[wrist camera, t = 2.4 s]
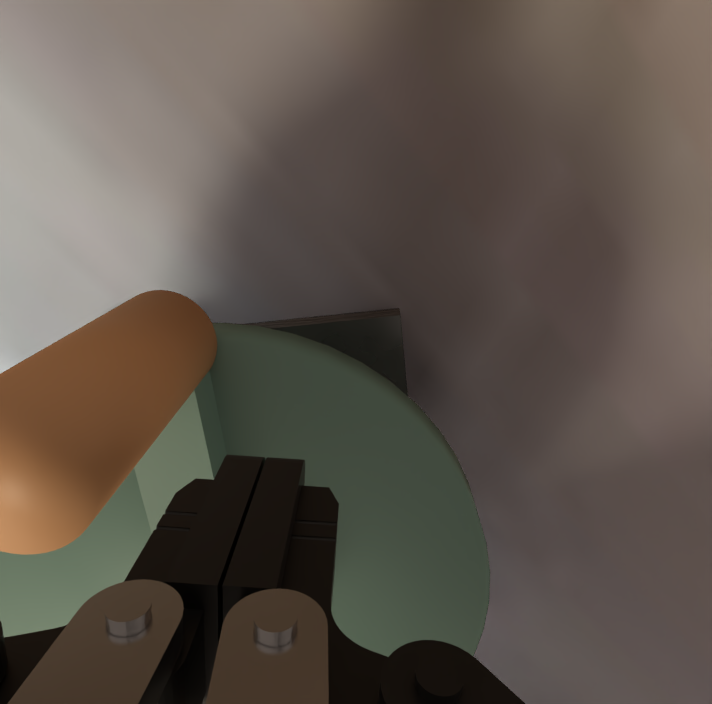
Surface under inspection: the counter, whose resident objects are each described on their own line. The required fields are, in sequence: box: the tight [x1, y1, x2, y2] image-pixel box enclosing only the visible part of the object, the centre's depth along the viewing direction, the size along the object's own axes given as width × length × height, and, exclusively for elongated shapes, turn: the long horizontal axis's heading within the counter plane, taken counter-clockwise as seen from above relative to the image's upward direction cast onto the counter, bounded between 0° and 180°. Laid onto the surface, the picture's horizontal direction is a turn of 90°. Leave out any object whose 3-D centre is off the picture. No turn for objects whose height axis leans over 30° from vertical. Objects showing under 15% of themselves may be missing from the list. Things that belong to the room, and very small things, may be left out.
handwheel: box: [0, 290, 490, 657], centre depth 16 cm, size 20×18×9 cm
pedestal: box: [242, 308, 408, 396], centre depth 24 cm, size 14×14×7 cm
